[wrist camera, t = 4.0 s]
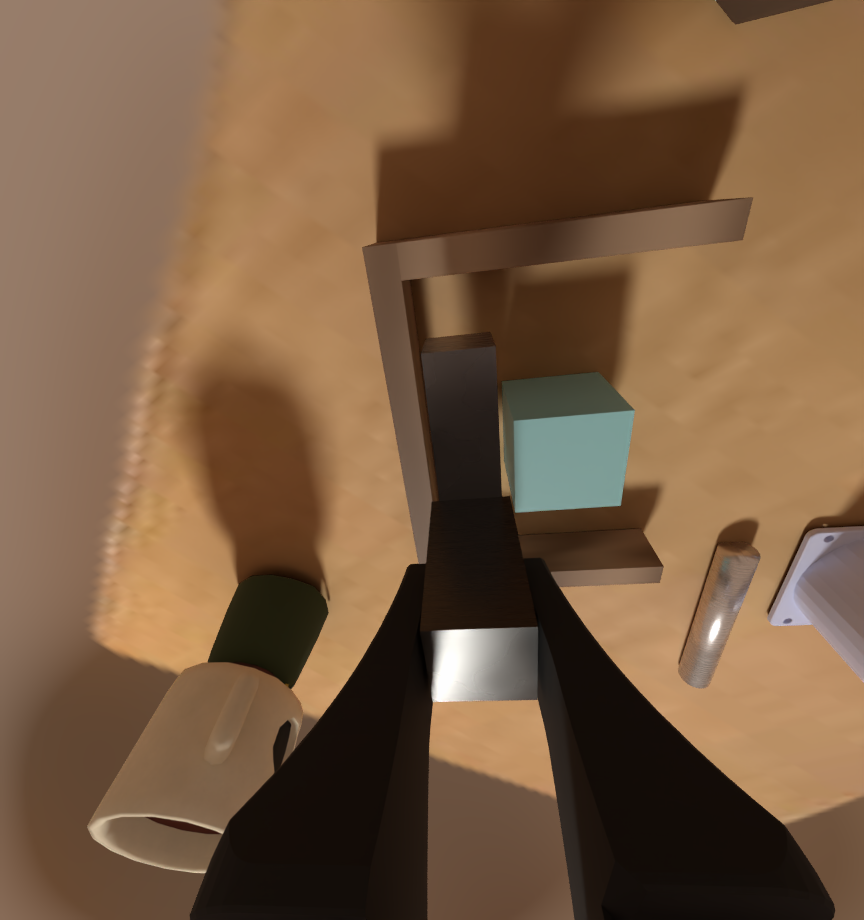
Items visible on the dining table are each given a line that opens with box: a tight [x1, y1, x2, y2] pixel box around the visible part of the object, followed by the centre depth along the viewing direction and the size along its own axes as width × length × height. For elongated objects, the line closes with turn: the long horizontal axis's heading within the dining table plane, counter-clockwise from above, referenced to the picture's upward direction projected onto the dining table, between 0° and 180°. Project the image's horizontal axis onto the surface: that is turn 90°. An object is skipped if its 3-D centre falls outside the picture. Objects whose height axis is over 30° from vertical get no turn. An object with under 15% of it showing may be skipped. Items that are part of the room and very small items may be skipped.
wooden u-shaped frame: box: [362, 197, 753, 587], centre depth 19 cm, size 13×17×3 cm
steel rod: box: [678, 542, 760, 688], centre depth 26 cm, size 12×2×2 cm, turn 7°
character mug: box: [87, 575, 329, 873], centre depth 23 cm, size 11×7×13 cm, turn 154°
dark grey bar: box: [420, 332, 538, 702], centre depth 12 cm, size 2×12×7 cm, turn 7°
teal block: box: [502, 372, 635, 513], centre depth 19 cm, size 4×4×4 cm
